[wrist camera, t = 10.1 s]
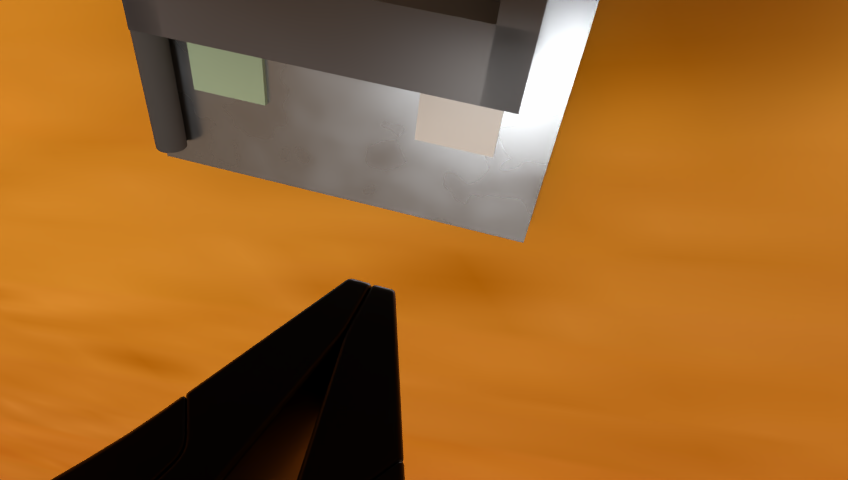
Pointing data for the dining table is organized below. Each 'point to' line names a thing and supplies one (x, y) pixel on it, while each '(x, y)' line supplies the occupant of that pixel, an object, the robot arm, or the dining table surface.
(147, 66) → the grey flat frame
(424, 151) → the panel
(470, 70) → the box
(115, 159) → the dining table surface
